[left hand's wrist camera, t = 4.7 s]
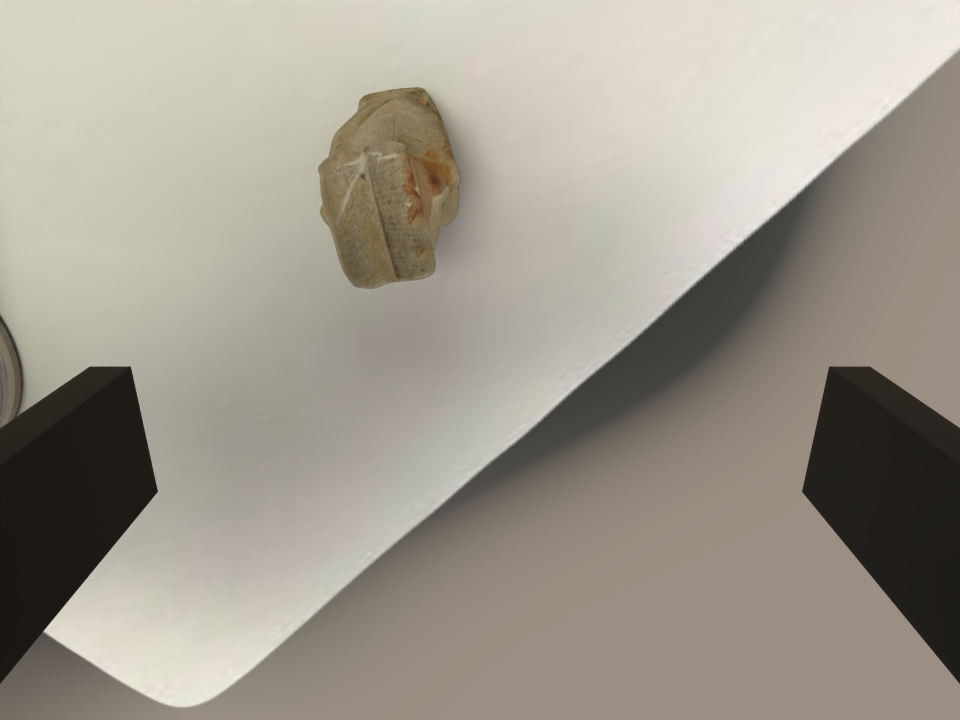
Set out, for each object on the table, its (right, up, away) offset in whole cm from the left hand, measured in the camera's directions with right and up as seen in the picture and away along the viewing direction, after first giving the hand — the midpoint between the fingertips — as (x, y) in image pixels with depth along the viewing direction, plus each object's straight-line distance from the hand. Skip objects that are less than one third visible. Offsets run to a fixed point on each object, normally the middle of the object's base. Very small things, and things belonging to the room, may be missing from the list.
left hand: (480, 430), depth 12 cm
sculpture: (-4, +12, +24) cm, 27 cm away
